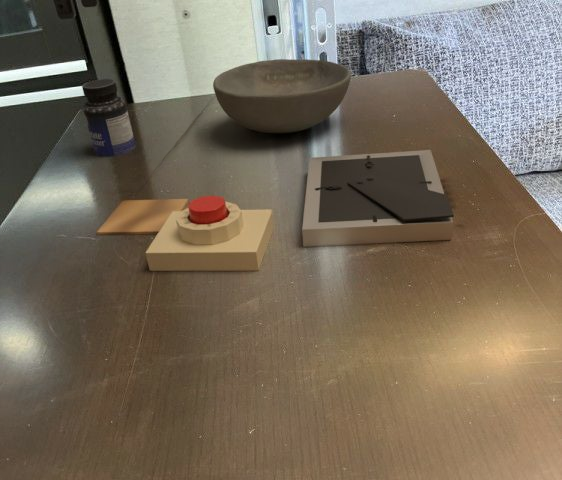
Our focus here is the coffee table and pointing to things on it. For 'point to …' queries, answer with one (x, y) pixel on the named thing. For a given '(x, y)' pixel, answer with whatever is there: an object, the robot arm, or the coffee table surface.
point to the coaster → (140, 216)
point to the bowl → (282, 93)
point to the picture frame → (375, 200)
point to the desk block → (212, 242)
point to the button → (207, 210)
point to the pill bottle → (107, 118)
